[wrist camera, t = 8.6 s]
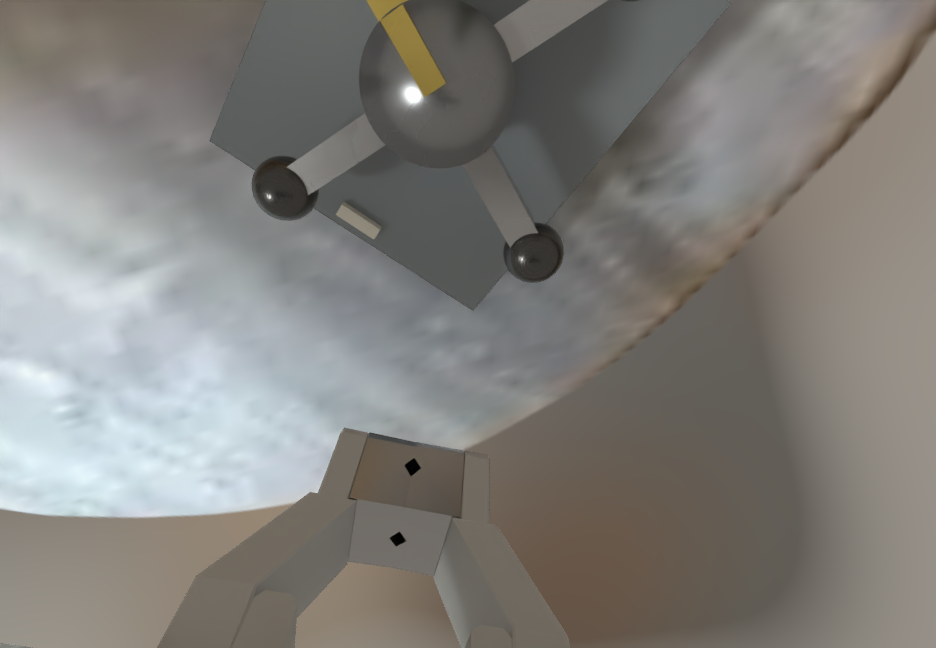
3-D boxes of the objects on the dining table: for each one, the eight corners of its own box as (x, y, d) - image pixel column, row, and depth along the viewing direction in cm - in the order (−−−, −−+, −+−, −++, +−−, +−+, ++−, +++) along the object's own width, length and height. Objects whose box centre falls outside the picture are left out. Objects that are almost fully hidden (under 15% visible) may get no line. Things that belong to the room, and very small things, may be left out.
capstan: (720, 157, 20) (772, 186, 16) (396, 323, 25) (378, 375, 21) (543, -387, 13) (563, -556, 9) (142, -10, 18) (48, -20, 14)
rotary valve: (475, 284, 27) (471, 327, 23) (240, 128, 24) (189, 148, 20) (701, 6, 20) (751, 0, 16) (416, -280, 16) (392, -378, 12)
